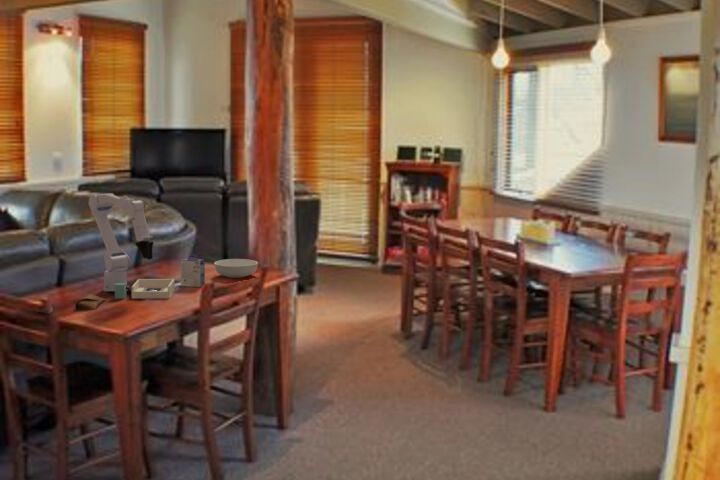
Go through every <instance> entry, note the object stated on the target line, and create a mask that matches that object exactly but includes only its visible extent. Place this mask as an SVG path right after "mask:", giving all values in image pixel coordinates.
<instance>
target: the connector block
mask: <svg viewBox="0 0 720 480" xmlns="http://www.w3.org/2000/svg"><path fill="white" fill-rule="evenodd" d="M126 298H127V290H126V283H116V284H115V291H114V299H116V300H117V299H118V300H119V299H123V300H124V299H126Z"/></svg>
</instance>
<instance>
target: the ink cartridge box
mask: <svg viewBox="0 0 720 480" xmlns="http://www.w3.org/2000/svg"><path fill="white" fill-rule="evenodd" d="M205 271H206V264H205V258H202V259H201V258H198V254H197V253H190V254H189V257H188V258H182V259H181V260H180V286H181V287H192V288H193V287H195V288H201V287H204V286H206V275H205V274H206V272H205ZM203 285H204V286H203Z"/></svg>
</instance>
